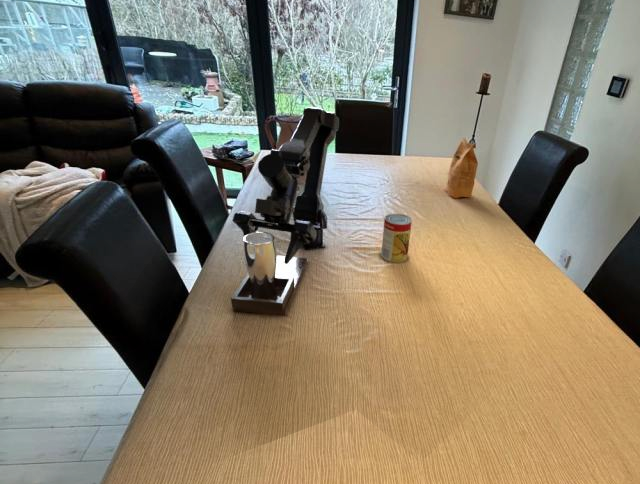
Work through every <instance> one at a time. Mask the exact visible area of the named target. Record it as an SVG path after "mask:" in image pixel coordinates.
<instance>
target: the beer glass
mask: <svg viewBox="0 0 640 484" xmlns="http://www.w3.org/2000/svg"><path fill="white" fill-rule="evenodd" d="M242 239H243V257H244V263H245V267H246V271H247V274H249V276H250V280H251V285H252V289H251V298H256V299H267V300H274V299H276V298H277V295H278V294H277V290H276V286H275V273H276V265H277V256H278V253H277V247H276V240H275V239H276V238H275V236H274V235H273V234H272V233H270V232H265V231H255V232H253V233H249V234H247V235H245V236H244V235H243V238H242Z"/></svg>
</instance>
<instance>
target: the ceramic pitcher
mask: <svg viewBox="0 0 640 484" xmlns="http://www.w3.org/2000/svg"><path fill="white" fill-rule="evenodd" d="M302 117H303V115H292V114H289V115H287V114H286V115H269V116H267V118H265V121H264V130H265V134H266V137H267V139H268V141H269V144H270V146H271V148H272V150H279V149H280V147H281V146H282V145H283V144H284V143H287V142H289V141H290V140H291V139H292V137H293V135H294V133H295V131H296V129H297V127H298V125H299V123H300V121H301V119H302ZM271 121H275V122H276V123H278V126H279V128H280V129H279V130H280V131H279V134H278V138H277V141H276V142H275V139H274V137H273V134H272V132H271V128H270V123H271ZM310 150H311V147H310V149H309V152H308V157H309V156H310ZM306 175H307V172H306V173H305V175H304V176H298V175H292V176H294V177H295V178H296V179H297V181H298V183H299V185H303V184H305V181H306Z"/></svg>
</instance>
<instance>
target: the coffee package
mask: <svg viewBox="0 0 640 484" xmlns="http://www.w3.org/2000/svg"><path fill="white" fill-rule="evenodd" d="M476 148H477V145H475V143H470V142H467V140H466V138H463V137H462V139H461V141H460V143H459V144H458V146H457V147H456V150H455V152H454V154H453V156H452V159H451V163H450V166H449V168H448V169H449V170H448V172H447V181H446V187H445V192H447V194H448V196H450V197H452V198H453V199H458V198H469V197H472V195H473V190H474V186H475V183H476V181H475V180H476V177H477V169H478V165H479V162H478V159H477V155H476V153H475V150H474V149H476Z"/></svg>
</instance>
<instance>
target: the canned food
mask: <svg viewBox="0 0 640 484" xmlns="http://www.w3.org/2000/svg"><path fill="white" fill-rule="evenodd" d="M412 222H413V219H412V218H411V217H410V216H408V215H407V214H403V213H388V214H386V215H384V220H383V231H382V242H381V252H380V253H381V255H380V256H381V258H382V259H383V260H385V261H387V262H390V263H402V262H405V261H406V260H407V259H408V255H409V246H410V239H411V231H412V225H413V223H412Z"/></svg>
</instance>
